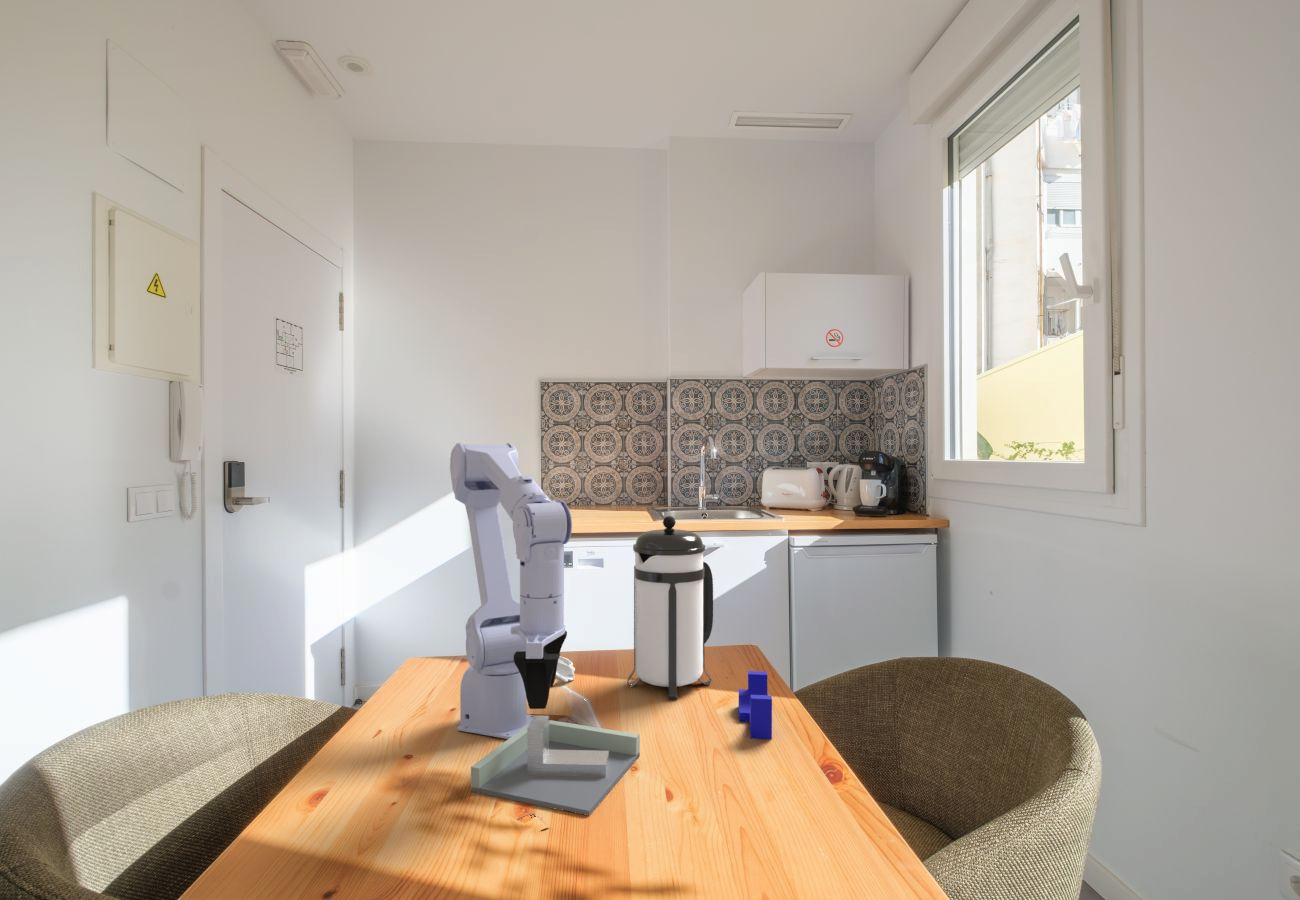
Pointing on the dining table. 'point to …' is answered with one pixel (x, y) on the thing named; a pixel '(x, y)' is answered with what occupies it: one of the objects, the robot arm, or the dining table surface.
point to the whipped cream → (565, 669)
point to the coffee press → (671, 607)
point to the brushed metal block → (560, 755)
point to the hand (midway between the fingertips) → (541, 696)
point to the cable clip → (756, 706)
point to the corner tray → (578, 794)
